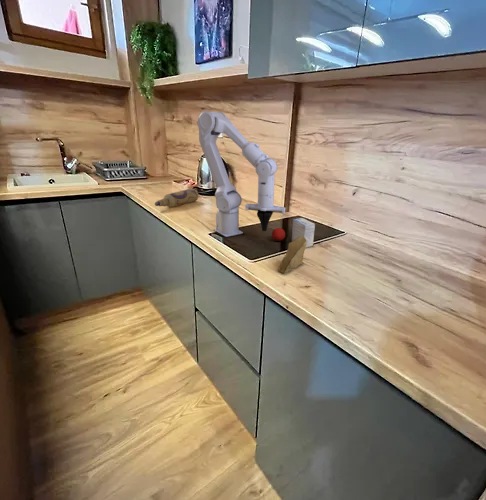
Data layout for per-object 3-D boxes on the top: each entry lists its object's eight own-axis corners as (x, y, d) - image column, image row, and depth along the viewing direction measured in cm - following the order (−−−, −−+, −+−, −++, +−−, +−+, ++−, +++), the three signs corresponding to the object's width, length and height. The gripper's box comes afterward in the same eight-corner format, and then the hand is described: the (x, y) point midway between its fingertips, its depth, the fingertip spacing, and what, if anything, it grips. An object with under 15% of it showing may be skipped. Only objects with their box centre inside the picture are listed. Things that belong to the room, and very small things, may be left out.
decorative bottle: (189, 199, 165) (188, 187, 163) (199, 201, 162) (198, 189, 159) (149, 209, 145) (148, 195, 142) (160, 212, 141) (159, 198, 139)
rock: (285, 271, 85) (315, 262, 89) (275, 243, 87) (305, 235, 90) (273, 278, 95) (300, 268, 99) (264, 252, 97) (291, 244, 100)
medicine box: (313, 246, 110) (315, 223, 107) (303, 248, 108) (305, 225, 105) (300, 239, 117) (302, 217, 113) (291, 240, 114) (292, 218, 111)
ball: (268, 240, 114) (269, 227, 112) (279, 237, 117) (279, 225, 115) (277, 244, 111) (277, 231, 109) (287, 241, 114) (288, 229, 112)
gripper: (243, 194, 106) (242, 231, 111) (283, 198, 103) (281, 235, 109) (248, 190, 112) (248, 225, 118) (287, 194, 110) (284, 229, 115)
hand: (264, 230), depth 114 cm, fingers closed
